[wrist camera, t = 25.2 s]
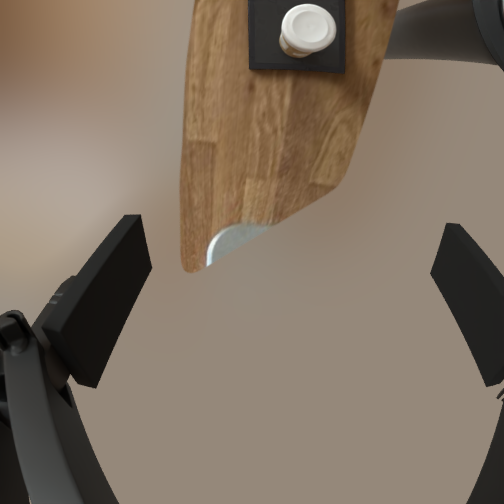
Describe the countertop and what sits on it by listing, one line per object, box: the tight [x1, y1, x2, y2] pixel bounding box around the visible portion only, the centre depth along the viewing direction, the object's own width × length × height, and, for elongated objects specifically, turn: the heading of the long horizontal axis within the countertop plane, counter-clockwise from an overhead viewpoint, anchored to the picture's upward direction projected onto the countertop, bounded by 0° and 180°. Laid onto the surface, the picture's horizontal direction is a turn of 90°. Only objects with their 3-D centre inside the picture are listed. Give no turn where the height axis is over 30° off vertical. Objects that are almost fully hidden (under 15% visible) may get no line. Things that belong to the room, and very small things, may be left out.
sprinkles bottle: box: [279, 4, 336, 58], centre depth 26 cm, size 5×5×13 cm
